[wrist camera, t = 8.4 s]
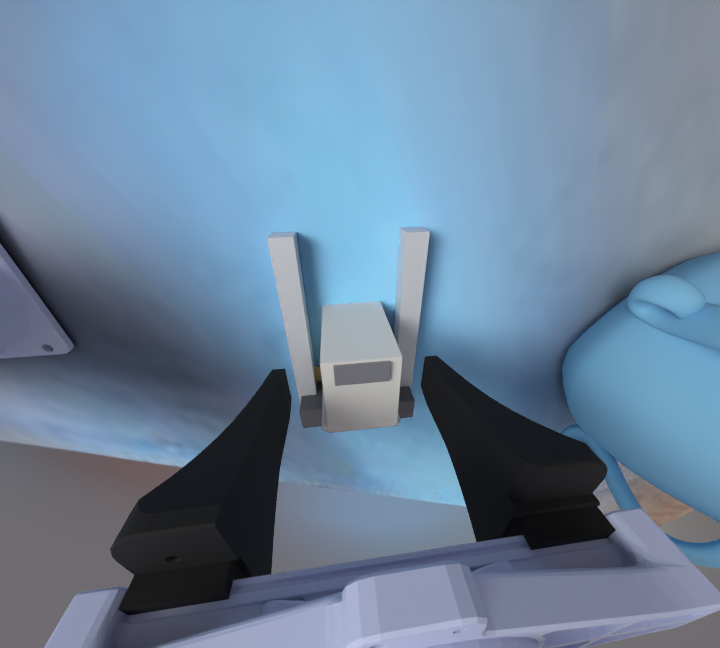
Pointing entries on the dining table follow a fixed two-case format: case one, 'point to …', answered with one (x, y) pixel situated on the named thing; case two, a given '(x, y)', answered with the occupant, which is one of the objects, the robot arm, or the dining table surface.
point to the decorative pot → (656, 391)
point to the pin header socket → (297, 323)
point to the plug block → (359, 367)
